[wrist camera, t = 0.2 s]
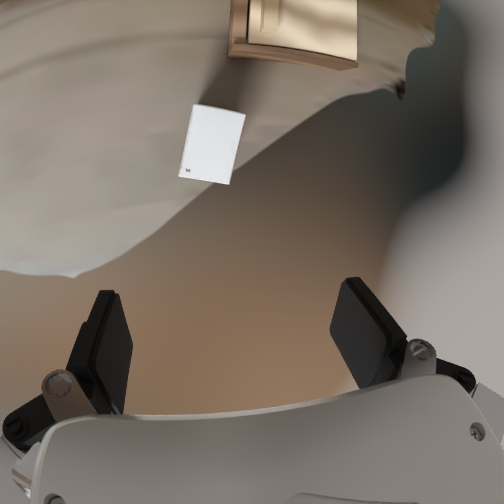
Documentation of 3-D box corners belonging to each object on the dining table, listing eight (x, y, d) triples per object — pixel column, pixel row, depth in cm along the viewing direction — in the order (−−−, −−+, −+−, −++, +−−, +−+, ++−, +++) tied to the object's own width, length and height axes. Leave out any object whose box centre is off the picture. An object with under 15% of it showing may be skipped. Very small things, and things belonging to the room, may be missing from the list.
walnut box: (232, -18, 25) (238, -36, 20) (338, 0, 28) (358, -12, 22) (227, 57, 31) (232, 48, 26) (337, 71, 34) (358, 67, 28)
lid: (252, -26, 21) (256, -36, 19) (353, -5, 24) (364, -11, 21) (247, 44, 27) (252, 38, 24) (353, 62, 29) (365, 59, 26)
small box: (222, 168, 39) (229, 187, 29) (183, 161, 37) (177, 178, 28) (236, 113, 35) (248, 113, 26) (195, 105, 34) (193, 102, 25)
